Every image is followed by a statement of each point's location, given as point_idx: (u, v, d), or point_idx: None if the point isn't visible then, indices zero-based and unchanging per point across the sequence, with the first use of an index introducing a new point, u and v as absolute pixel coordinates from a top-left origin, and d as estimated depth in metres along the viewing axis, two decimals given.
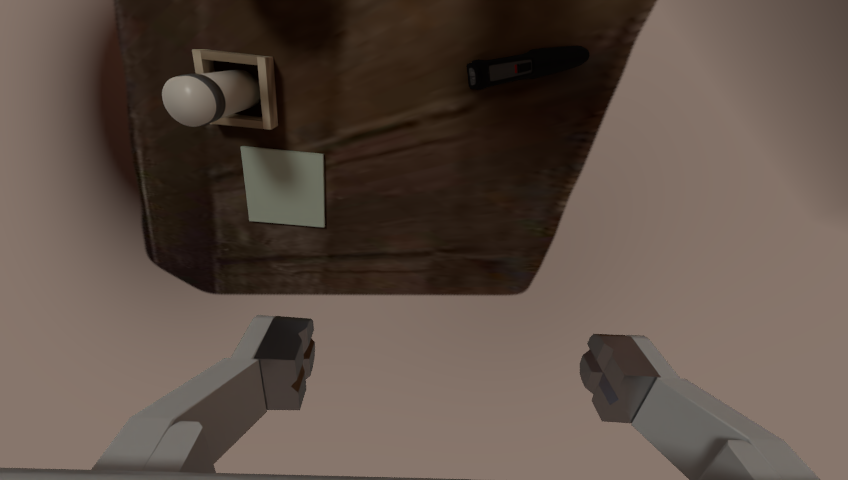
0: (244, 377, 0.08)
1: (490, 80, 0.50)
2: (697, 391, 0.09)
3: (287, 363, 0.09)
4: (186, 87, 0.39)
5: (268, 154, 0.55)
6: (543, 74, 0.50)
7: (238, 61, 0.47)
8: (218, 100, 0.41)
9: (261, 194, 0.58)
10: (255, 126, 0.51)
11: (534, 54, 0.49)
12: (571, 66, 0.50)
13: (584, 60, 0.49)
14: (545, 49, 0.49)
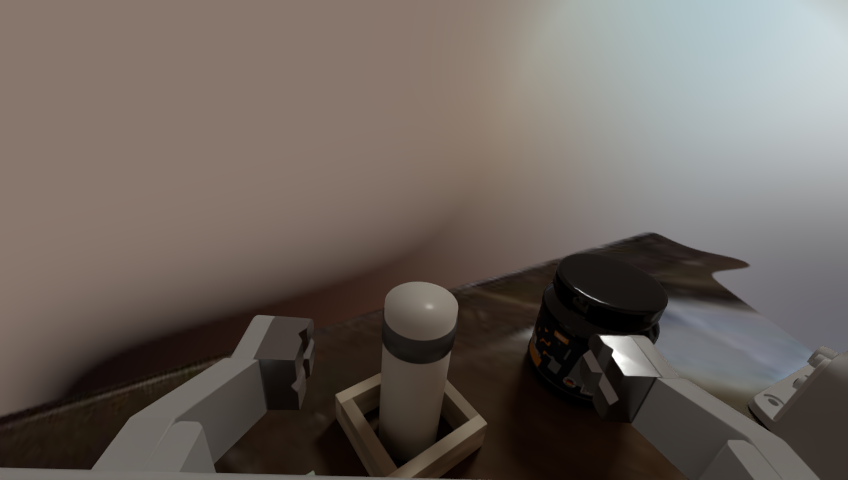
0: (244, 377, 0.08)
1: None
2: (697, 391, 0.09)
3: (287, 363, 0.09)
4: (440, 298, 0.26)
5: None
6: None
7: (453, 397, 0.32)
8: (445, 341, 0.25)
9: None
10: (380, 462, 0.27)
11: None
12: None
13: None
14: None
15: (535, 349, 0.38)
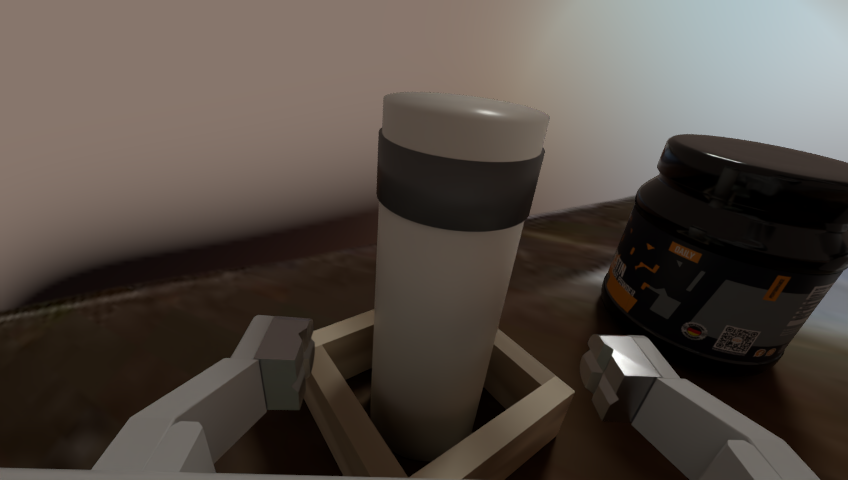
0: (244, 377, 0.08)
1: None
2: (697, 391, 0.09)
3: (287, 363, 0.09)
4: (504, 105, 0.12)
5: None
6: None
7: (504, 348, 0.18)
8: (524, 179, 0.10)
9: None
10: (371, 463, 0.12)
11: None
12: None
13: None
14: None
15: (622, 286, 0.24)
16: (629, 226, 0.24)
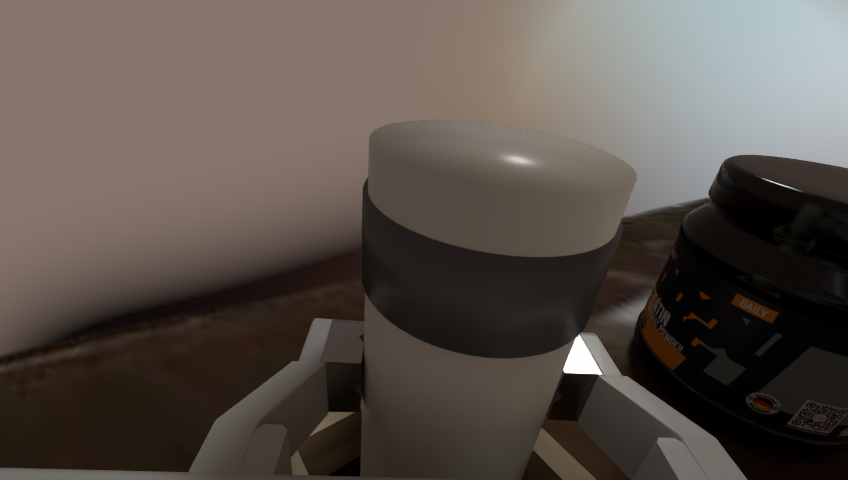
0: (313, 380, 0.08)
1: None
2: (636, 388, 0.09)
3: (353, 366, 0.09)
4: (552, 144, 0.08)
5: None
6: None
7: None
8: (598, 273, 0.06)
9: None
10: None
11: None
12: None
13: None
14: None
15: (665, 338, 0.20)
16: (673, 265, 0.20)
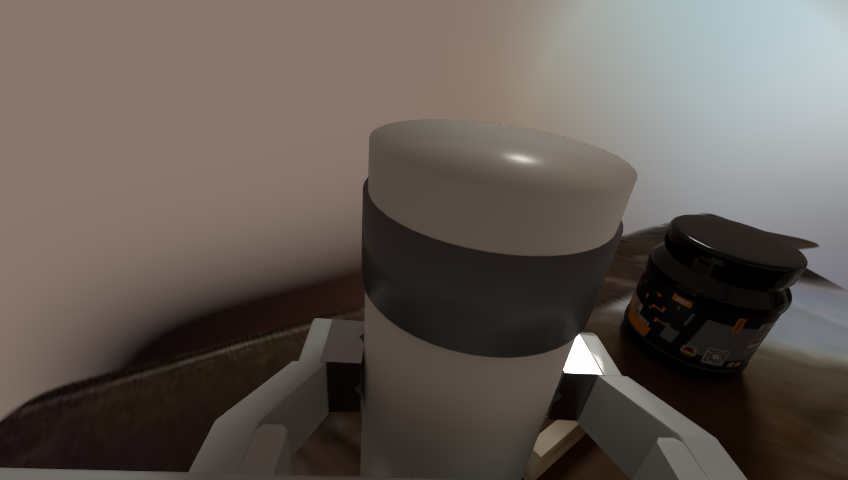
0: (313, 380, 0.08)
1: None
2: (636, 388, 0.09)
3: (353, 366, 0.09)
4: (552, 143, 0.08)
5: None
6: None
7: None
8: (598, 272, 0.06)
9: None
10: None
11: None
12: None
13: None
14: None
15: (640, 318, 0.35)
16: (644, 277, 0.35)
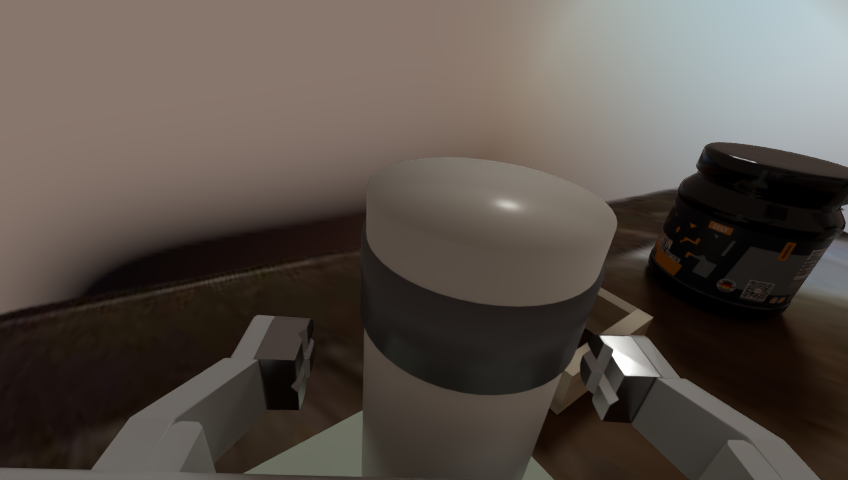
0: (244, 377, 0.08)
1: None
2: (697, 391, 0.09)
3: (287, 363, 0.09)
4: (540, 185, 0.08)
5: None
6: None
7: (599, 293, 0.26)
8: (581, 315, 0.07)
9: (353, 469, 0.16)
10: None
11: None
12: None
13: None
14: None
15: (669, 256, 0.32)
16: (674, 211, 0.32)
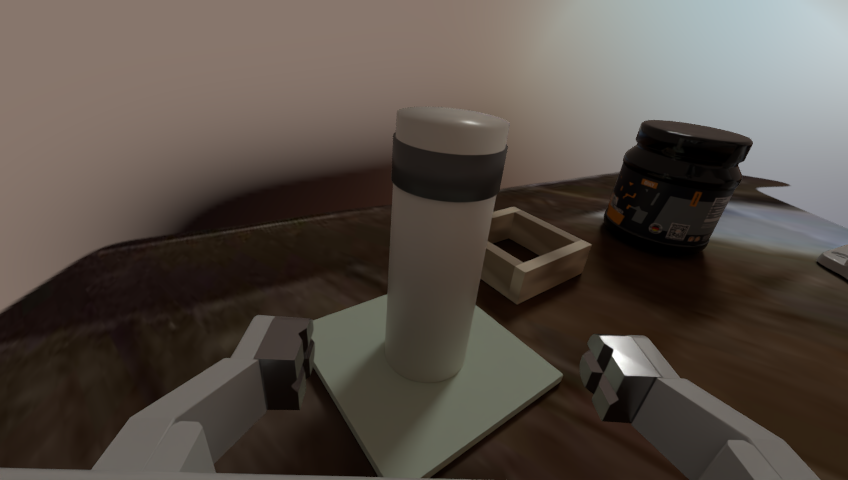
0: (244, 377, 0.08)
1: None
2: (697, 391, 0.09)
3: (287, 363, 0.09)
4: (480, 116, 0.17)
5: None
6: None
7: (554, 230, 0.34)
8: (492, 166, 0.16)
9: (378, 322, 0.25)
10: (506, 259, 0.29)
11: None
12: None
13: None
14: None
15: (616, 210, 0.40)
16: (620, 175, 0.41)
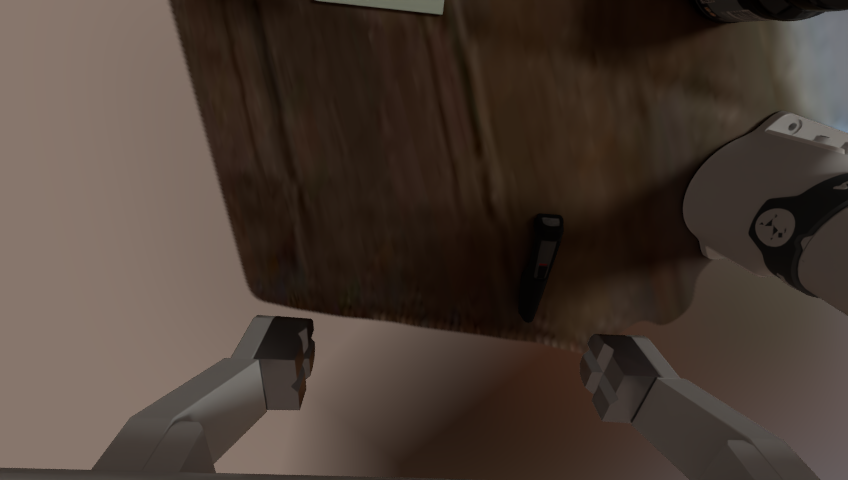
0: (244, 377, 0.08)
1: (543, 240, 0.46)
2: (697, 391, 0.09)
3: (287, 363, 0.09)
4: None
5: None
6: (524, 284, 0.50)
7: None
8: None
9: None
10: None
11: (546, 279, 0.50)
12: (522, 307, 0.52)
13: (524, 318, 0.52)
14: (544, 287, 0.51)
15: None
16: None
